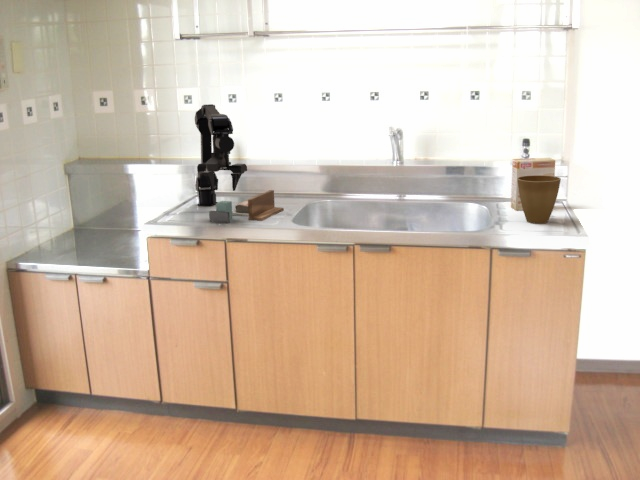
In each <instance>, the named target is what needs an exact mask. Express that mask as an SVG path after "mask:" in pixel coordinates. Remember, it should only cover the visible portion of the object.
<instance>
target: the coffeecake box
mask: <svg viewBox="0 0 640 480" xmlns="http://www.w3.org/2000/svg"><path fill="white" fill-rule="evenodd" d="M511 170H512V171H511V188H510V190H511V191H510V192H511V193H510V196H511V197H510V208H511V209H512V210H514V211H523V208H522V204H521V200H520V195H519V188H518V180H517V178H518V177H522V176H531V175H544V176H555V175H556V174H555V173H556V172H555V171H556V159H554V158H551V157H536V158H513V159H512V167H511ZM555 177H556V176H555Z"/></svg>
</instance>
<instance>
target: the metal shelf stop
mask: <svg viewBox="0 0 640 480" xmlns="http://www.w3.org/2000/svg"><path fill="white" fill-rule="evenodd" d="M208 214H209V215H208V216H209V222H210V223H222V224H230V222H231V220H230V217H229V212H218V211H215V210H209V211H208Z"/></svg>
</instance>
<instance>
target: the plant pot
mask: <svg viewBox="0 0 640 480" xmlns="http://www.w3.org/2000/svg"><path fill="white" fill-rule="evenodd" d="M517 180H518V188H519V195H520V200H521V204H522V208H523V210H522V211H523V215H524V217H525V220H526V222H528V223H530V224H547V223H548V222H549V220H550V217H551V216H552V213H553V210H554V208H555V205H556V202H557V199H558V194H559V190H560V186H561V185H560V184H561V180H562V179H561V177H559V176H544V175H531V176H522V177H518V178H517Z"/></svg>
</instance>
